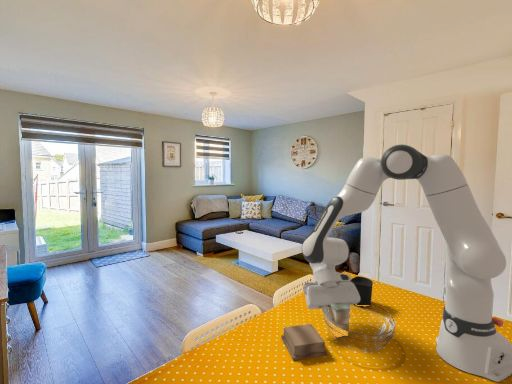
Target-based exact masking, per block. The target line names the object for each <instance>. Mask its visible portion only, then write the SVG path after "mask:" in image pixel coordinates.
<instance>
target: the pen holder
mask: <svg viewBox="0 0 512 384" xmlns="http://www.w3.org/2000/svg"><path fill="white" fill-rule="evenodd" d="M350 282H352V283H353V284H354V285H355V287H356V289H357V291H358V293H359V295H360V302H359V303H357V305H370V306H371V304H372V298H373V297H372V296H373V295H372V294H373V284H374V282H373V280H371V279H370V278H368V277H364V276H360V275H359V276H354V277H351V281H350Z"/></svg>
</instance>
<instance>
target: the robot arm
mask: <svg viewBox="0 0 512 384" xmlns="http://www.w3.org/2000/svg"><path fill="white" fill-rule="evenodd" d="M387 179H388V180H389V179H393V180H402V181H403V180H416V181H418V183H419V184H420V185H421V189H422V191H423V192H424V195H425V197H426V200H427V202H428V205H429V208H430V210H431V212H432V215H433V216H434V219H435V222H436V224H437V226H438V228H439V229H440V232H441V234H442V237H443V238H444V241H445V244H444V247H445V249H444V256H445V257H444V258H445V259H444V260H445V280H446V283H445V284H446V285H445V287H446V288H445V305H444V307H443V308H442V309H443V310H442V319H441V321H440V327H439V333H438V336H436V337H435V342H436V348H435V350H436V353H437V354H438V356H439V357H440V358H441V359H442V360H444V361H445V362H446V363H447V364H449V365H451V366H452V367H454V368H456V369H459V370H461V371H463V372H466V373H468V374H472V375H474V376H480V377H483V378H485V379H487V380H490V381H492V382H493V381H494V382H497V383H500V382H502V381H503V380H505V379H507V378H509V377H510V376H512V375H511V374H512V343H511V341H510V340H509V339H508V338H506V337H505V336H503V335H502V334H501V333H500V332H499V331H497V329H496V326H497V327H499V328H501V327H503V326H504V321H503V320H502V319H499V318H497V317H495V316H494V317H493V308H494V297H495V296H494V290H493V285H492V280H491V279H494V278H497V277H499V276H500V275H502V274H503V273H504V271H505V270H506V267H507V258H506V256H505V254H504V252H503V250H502V248H501V246H500V245H499V243H498V241H497V239H496V237H495V235H494V232H493V231H492V230H491V227H490V226H489V224H488V222H487V221H486V219H485V217H484V216H483V214H482V212H481V211H480V209H479V207H478V204H477V201H476V200H475V197H474V195H473V193H472V190H471V188H470V186H469V184H468V181H467V179H466V177H465V175H464V173H463V172H462V169H461V168H460V167H459V165H458V163H457V161H455V159H454V158H453V157H452V156H451V155H449V154H444V153H441V154H440V153H438V154H433V155H430V156H426V155H424V154H423V153H422V152H420V151H418V150H417V149H416V148H414V147H412V146H410V145H408V144H396V145H393V146H391V147H389V148H387V149H386V150H385V151H384V153H383V154H382V156H381V158H376V157H373V156H372V157H371V156H366V157H365V156H364V157H361V158H360V159H358V160H357V162H356V163H355V165H354V166H353V168H352V170H351V171H350V173H349V175H348V177H347V179H346V181H345V183H344V185H343V187H342V189H341V190H340V191H339V193H338V194H337V195H336V196H335V197H332V198H331V199H330V201H329V202H328V203H327V204H326V206H325V208H324V209H323V211H322V213H321V214H320V216H319V218H318V219H317V221H316V223H315V225H314V226H313V228H312V229H311V232H309V234H308V235H307V236H306V238H304V240H303V242H302V244H301V253H302V256H303V257H304V259H305V260H306V261H307V262H308V263H309V266H310V268H311V270H312V275H313V280H314V281H311V282H305V283H304V284H303V285H302V292H303V293H304V294H305V303H306V307H307V308H308V309H309V310H316V309H317V310H318V309H321V311H322V313H324V315H326V317H327V322H329V321H332V320H334V317H333V314H330V313H329V305H330V304H333V303H342V302H343V303H345V304H346V305H347V306H348V307H349V308H350V309H351V306H353V305H354V304H357V303H359V302H360V295H359V293H358V291H357V289H356V287H355V285H354V284H353V283H352V282H350V281H351V279H352V277H351V275H349V274H346V273H342V272H338V271H336V266H339V265H341V264H343V263H344V264H345V263H346V261H347V260H348V259H349V257H350V248H349V245H348V243H347V242H346V241H345V239H341V238H337V237H329V236H330V234H331V232H332V231H333V229H334V227H335V225H336V224H337V222H338V221H340V220H341V219H343V218H345V217H348V216H351V215H355V214H360V213H363V212H366V211H367V210H368V209H370V207H371V206H372V205H373V203H374V201H375V200H376V198H377V195H378V192H379V191H380V188H381V186H382V185H383V183H384V182H385V181H386V180H387ZM354 306H355V305H354ZM350 318H351V313H350V312H349V319H350ZM508 376H509V377H508Z"/></svg>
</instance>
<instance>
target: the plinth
mask: <svg viewBox="0 0 512 384" xmlns="http://www.w3.org/2000/svg"><path fill="white" fill-rule="evenodd" d="M280 337H281V340H282V341H283V344H284V346H285V348H286V349H287V352H288V353H289V356H290V358H291V359H292V361H297V360H303V359H311V358H317V357H324V356H327V355H328V351H327V350H326V349H325V348H326V347H325V346H326V345H325V344H326V341H325V340H324V338H323V337H322V336H321V335H320V333H319V331H317V330H316V328H315V327H314V326H313V324H312V323H308V324H299V325H298V324H297V325H290V326H283V335H281V336H280Z"/></svg>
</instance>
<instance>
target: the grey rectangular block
mask: <svg viewBox="0 0 512 384" xmlns="http://www.w3.org/2000/svg"><path fill="white" fill-rule="evenodd" d="M328 312H329V313H330V314H333V317H334V320H332V321H331V322H332V324H334V325H335V326H336V327H339V328H341V329H343V330H346V331H349V332H350V318H349V313H350V312H351V307H350V308H349V307H348V306H347V305H346V304H345V303H343V302H342V303H333V304H330V305H329V307H328ZM327 329H328V331H329V333H331V331H330V329H329V327H328V328H327ZM332 336H333V337H334V338H335V339H337V338H336V337H335V336H334V335H332Z"/></svg>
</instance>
